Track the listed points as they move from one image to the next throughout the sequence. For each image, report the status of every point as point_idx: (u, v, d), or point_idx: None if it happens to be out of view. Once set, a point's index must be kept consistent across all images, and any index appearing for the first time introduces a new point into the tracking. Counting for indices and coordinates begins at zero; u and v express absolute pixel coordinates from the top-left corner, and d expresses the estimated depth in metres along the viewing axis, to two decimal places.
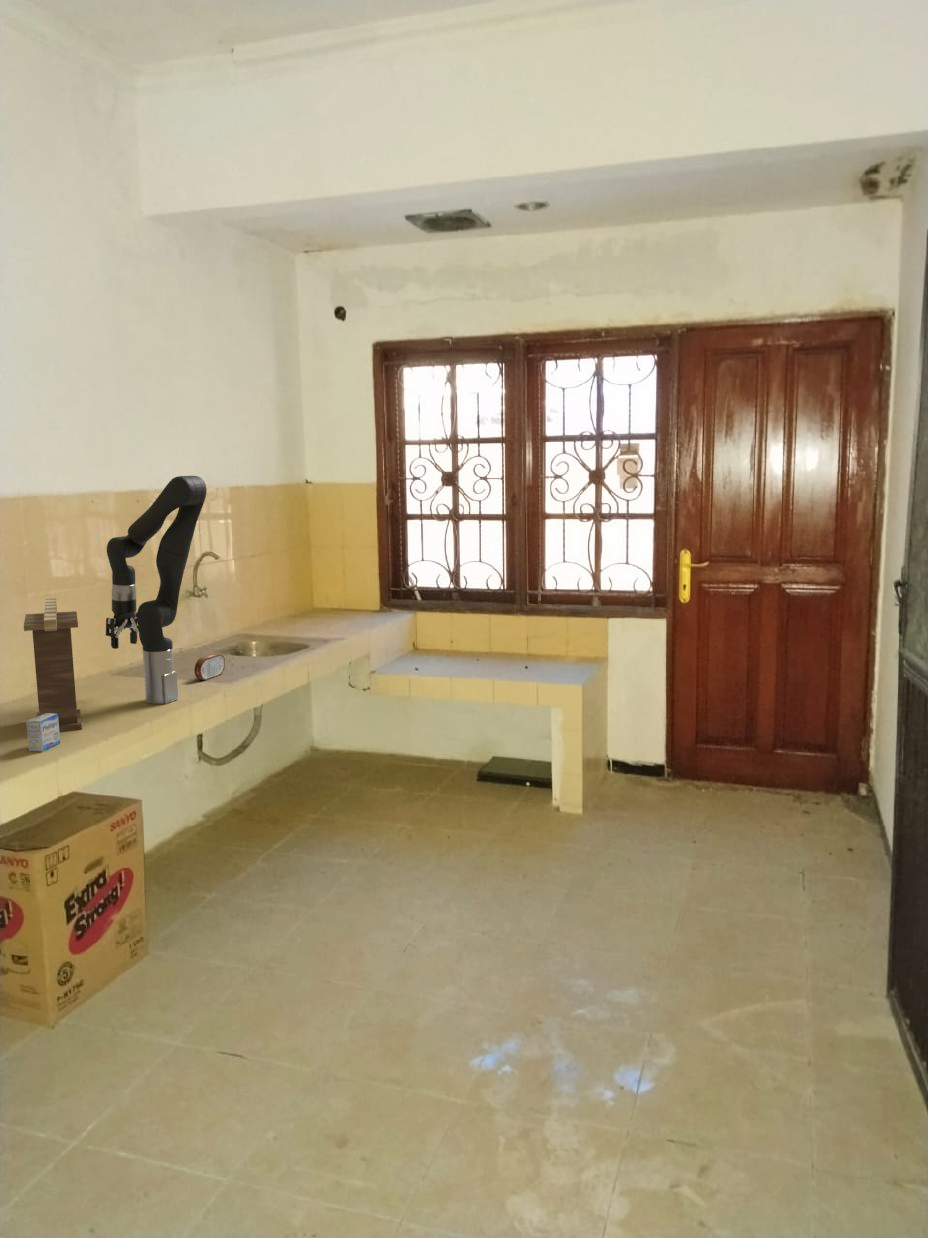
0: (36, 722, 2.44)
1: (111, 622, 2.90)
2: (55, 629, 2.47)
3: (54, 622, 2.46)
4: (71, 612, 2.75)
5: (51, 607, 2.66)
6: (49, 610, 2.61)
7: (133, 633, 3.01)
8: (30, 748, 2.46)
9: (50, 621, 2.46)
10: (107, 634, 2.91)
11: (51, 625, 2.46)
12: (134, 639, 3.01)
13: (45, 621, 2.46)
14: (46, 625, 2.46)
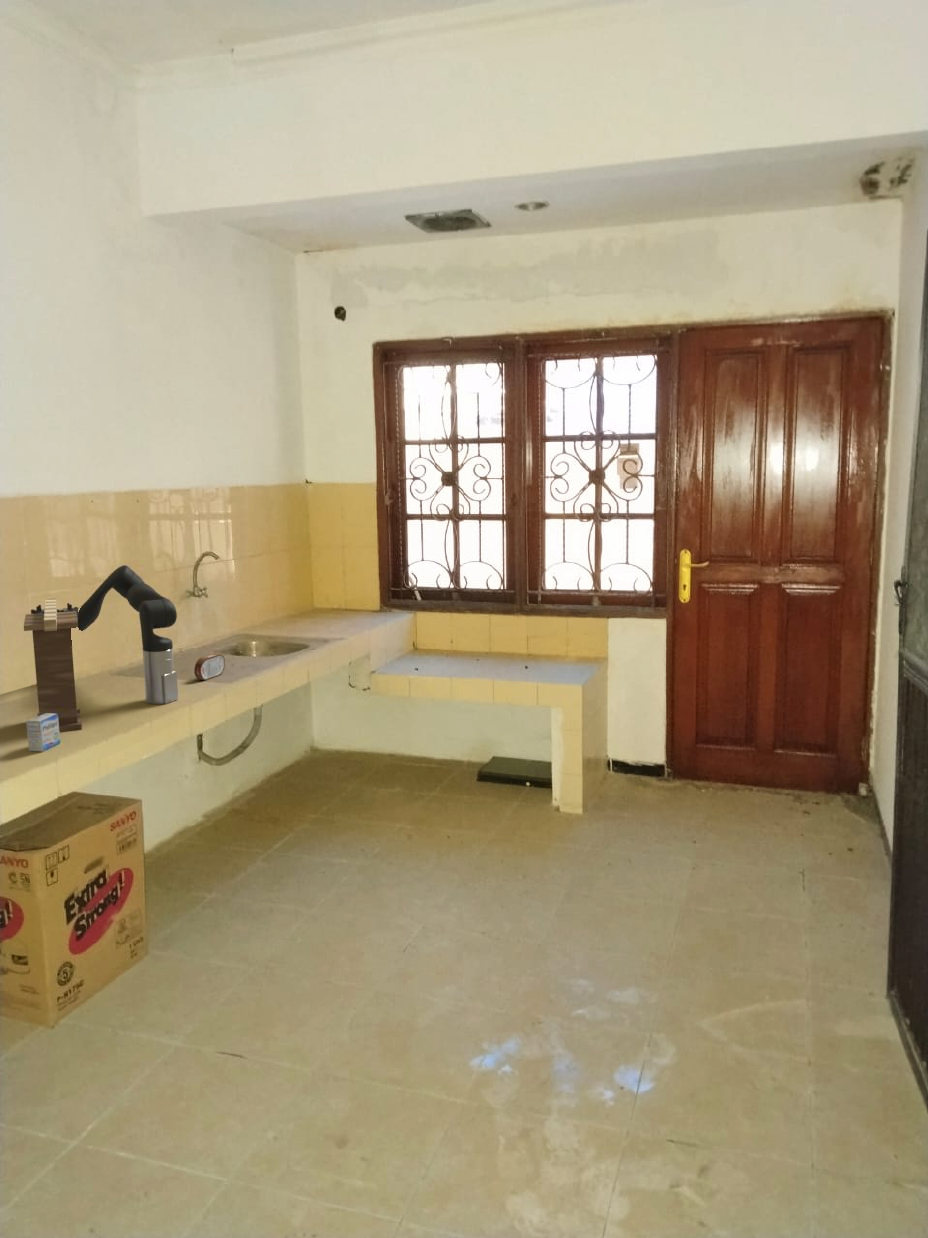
0: (36, 722, 2.44)
1: None
2: (55, 629, 2.47)
3: (54, 622, 2.46)
4: (71, 612, 2.75)
5: (51, 607, 2.66)
6: (49, 610, 2.61)
7: None
8: (30, 748, 2.46)
9: (50, 621, 2.46)
10: None
11: (51, 625, 2.46)
12: None
13: (45, 621, 2.46)
14: (46, 625, 2.46)
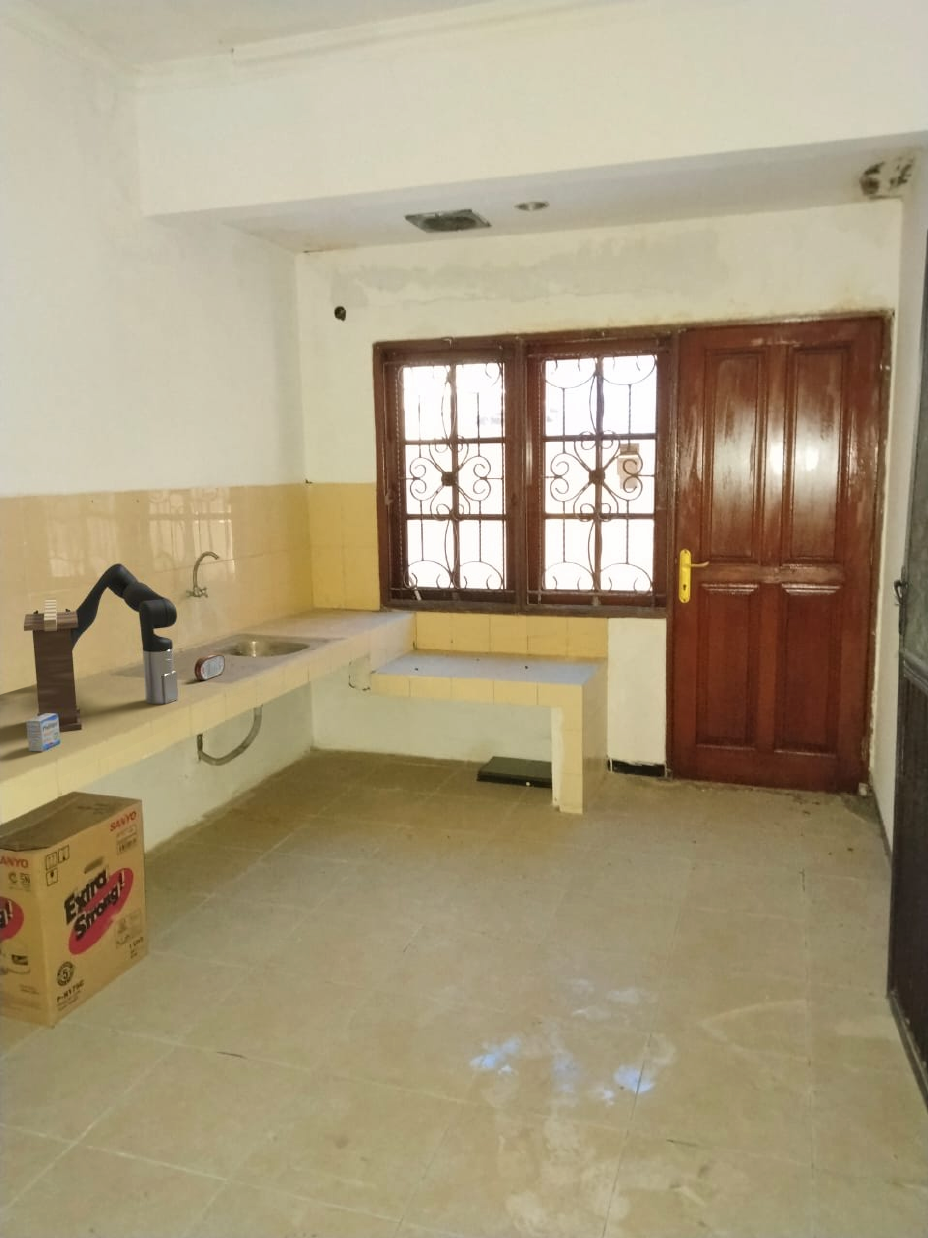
0: (36, 722, 2.44)
1: None
2: (55, 629, 2.47)
3: (54, 622, 2.46)
4: (71, 612, 2.75)
5: (51, 607, 2.66)
6: (49, 610, 2.61)
7: None
8: (30, 748, 2.46)
9: (50, 621, 2.46)
10: None
11: (51, 625, 2.46)
12: None
13: (45, 621, 2.46)
14: (46, 625, 2.46)
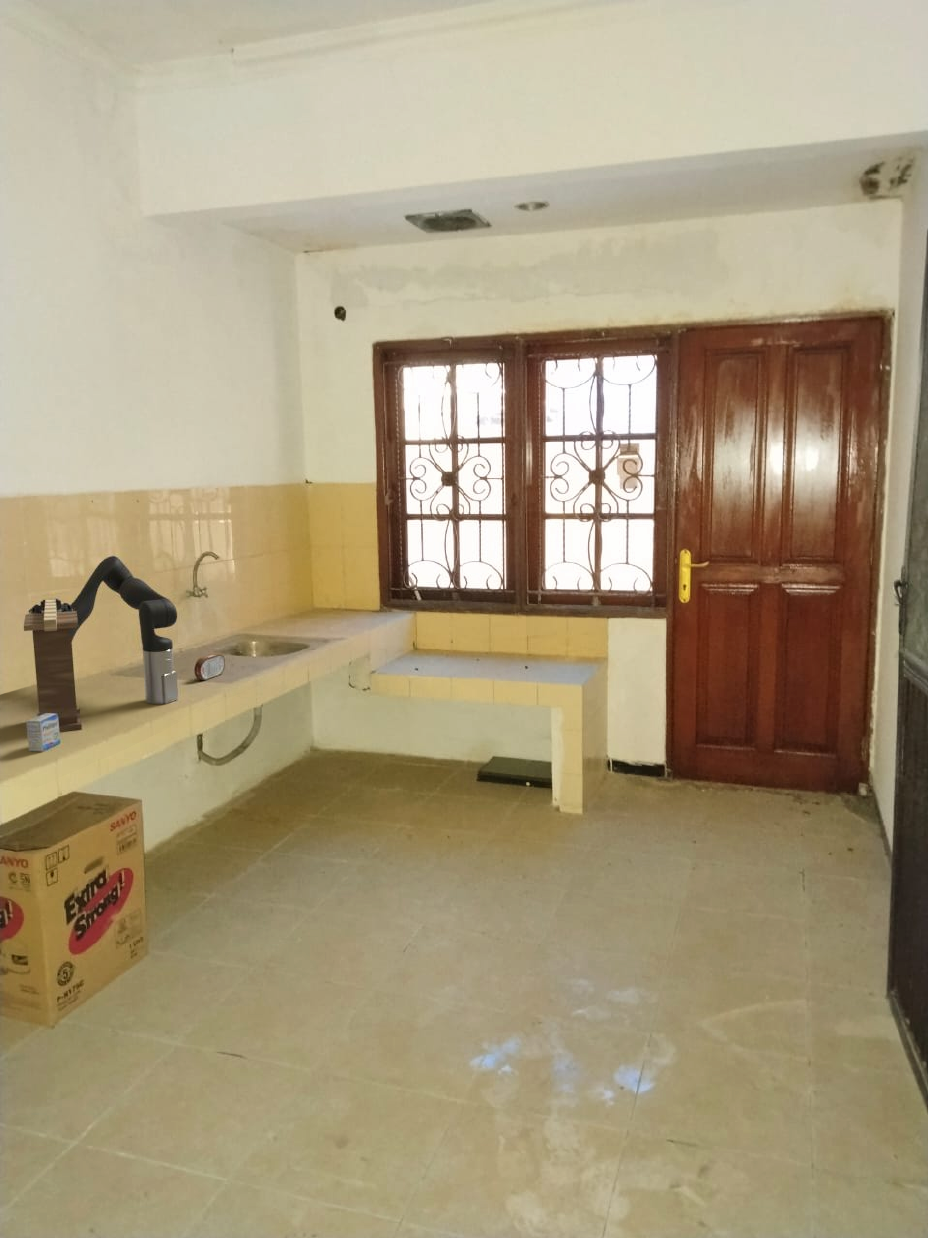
0: (36, 722, 2.44)
1: (29, 610, 2.81)
2: (55, 629, 2.47)
3: (54, 622, 2.46)
4: (71, 612, 2.75)
5: (51, 607, 2.66)
6: (49, 610, 2.61)
7: None
8: (30, 748, 2.46)
9: (50, 621, 2.46)
10: (35, 610, 2.78)
11: (51, 625, 2.46)
12: None
13: (45, 621, 2.46)
14: (46, 625, 2.46)
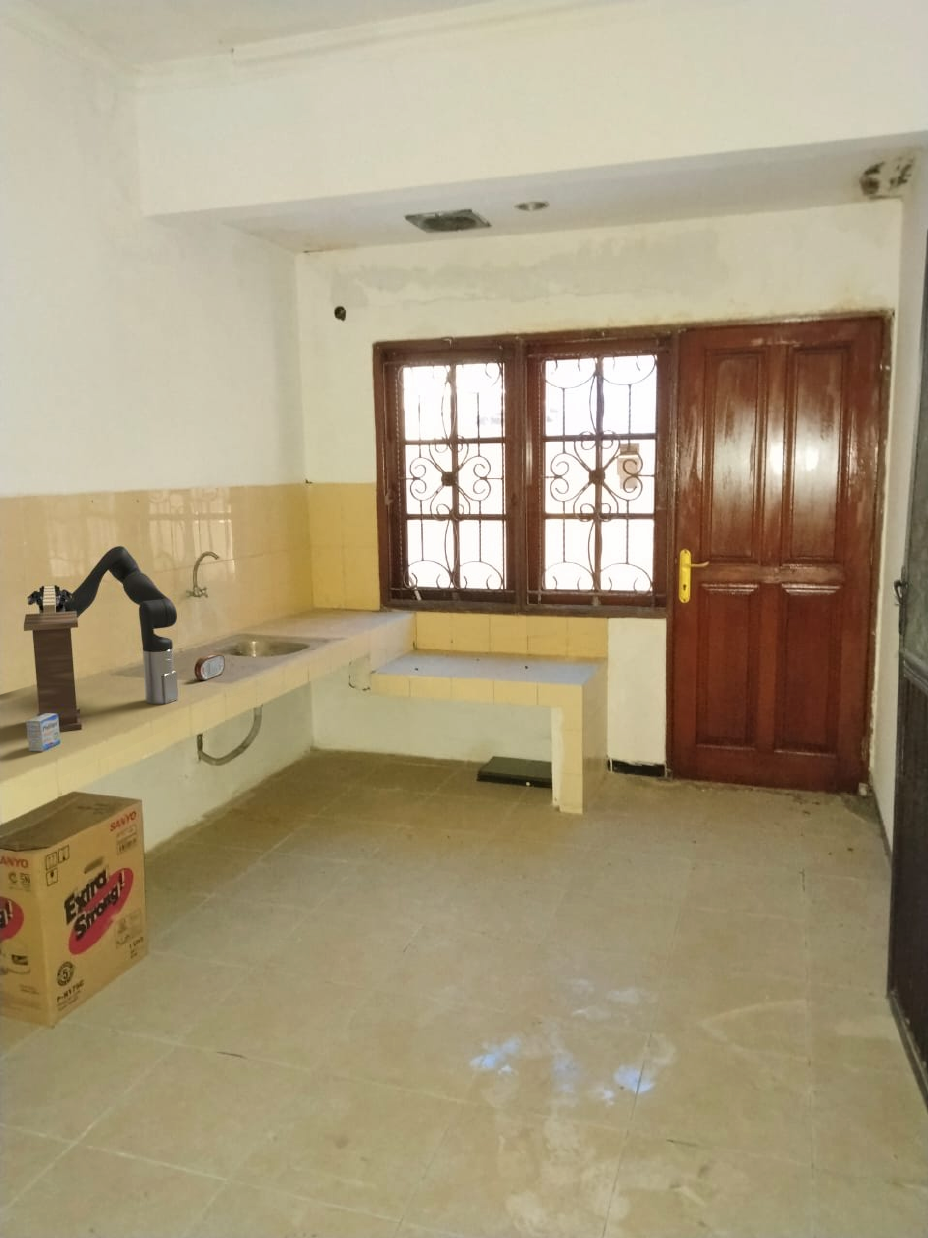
0: (36, 722, 2.44)
1: (28, 597, 2.83)
2: (54, 614, 2.49)
3: (53, 607, 2.48)
4: (71, 612, 2.75)
5: (50, 593, 2.68)
6: (48, 596, 2.63)
7: None
8: (30, 748, 2.46)
9: (49, 606, 2.48)
10: (34, 596, 2.80)
11: (50, 610, 2.48)
12: None
13: (44, 606, 2.48)
14: (45, 610, 2.48)
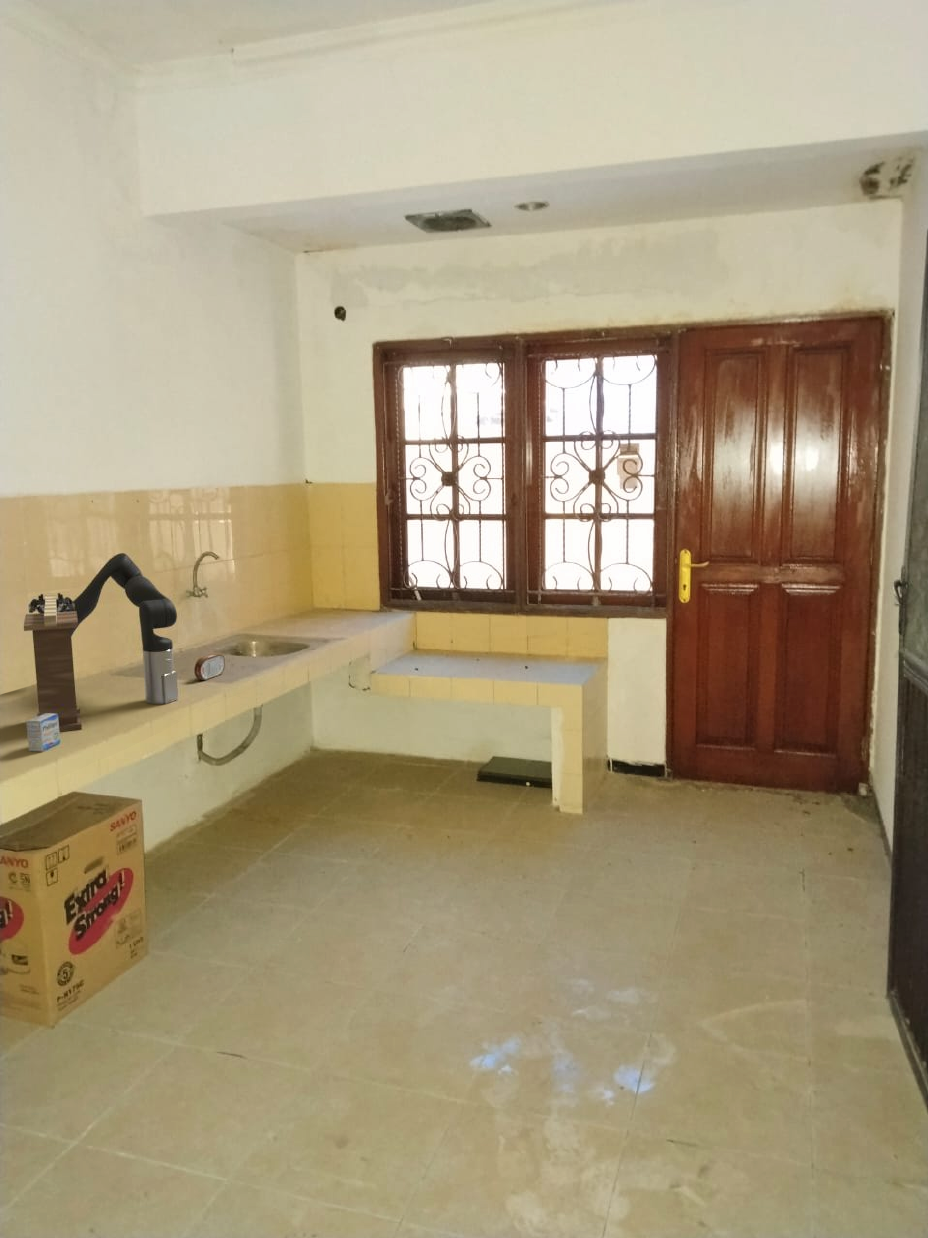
0: (36, 722, 2.44)
1: (29, 605, 2.87)
2: (55, 625, 2.53)
3: (54, 618, 2.53)
4: (71, 612, 2.75)
5: (51, 603, 2.72)
6: (49, 606, 2.67)
7: None
8: (30, 748, 2.46)
9: (50, 617, 2.52)
10: (33, 604, 2.84)
11: (51, 621, 2.53)
12: None
13: (45, 617, 2.52)
14: (46, 621, 2.52)
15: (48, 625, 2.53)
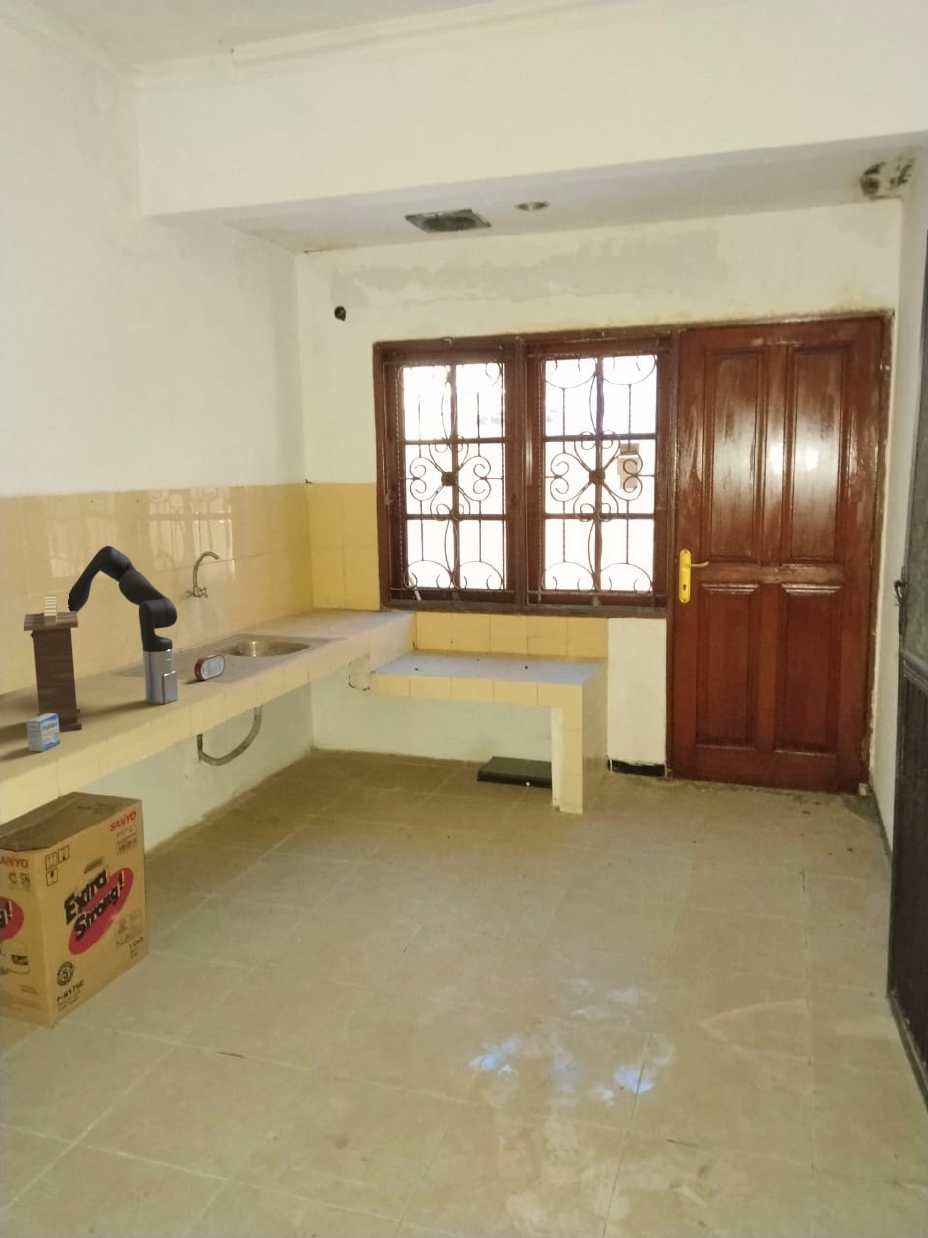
0: (36, 722, 2.44)
1: None
2: (55, 625, 2.53)
3: (54, 618, 2.53)
4: (71, 612, 2.75)
5: (51, 603, 2.72)
6: (49, 606, 2.67)
7: None
8: (30, 748, 2.46)
9: (50, 617, 2.52)
10: None
11: (51, 621, 2.53)
12: None
13: (45, 617, 2.52)
14: (46, 621, 2.52)
15: (48, 625, 2.53)
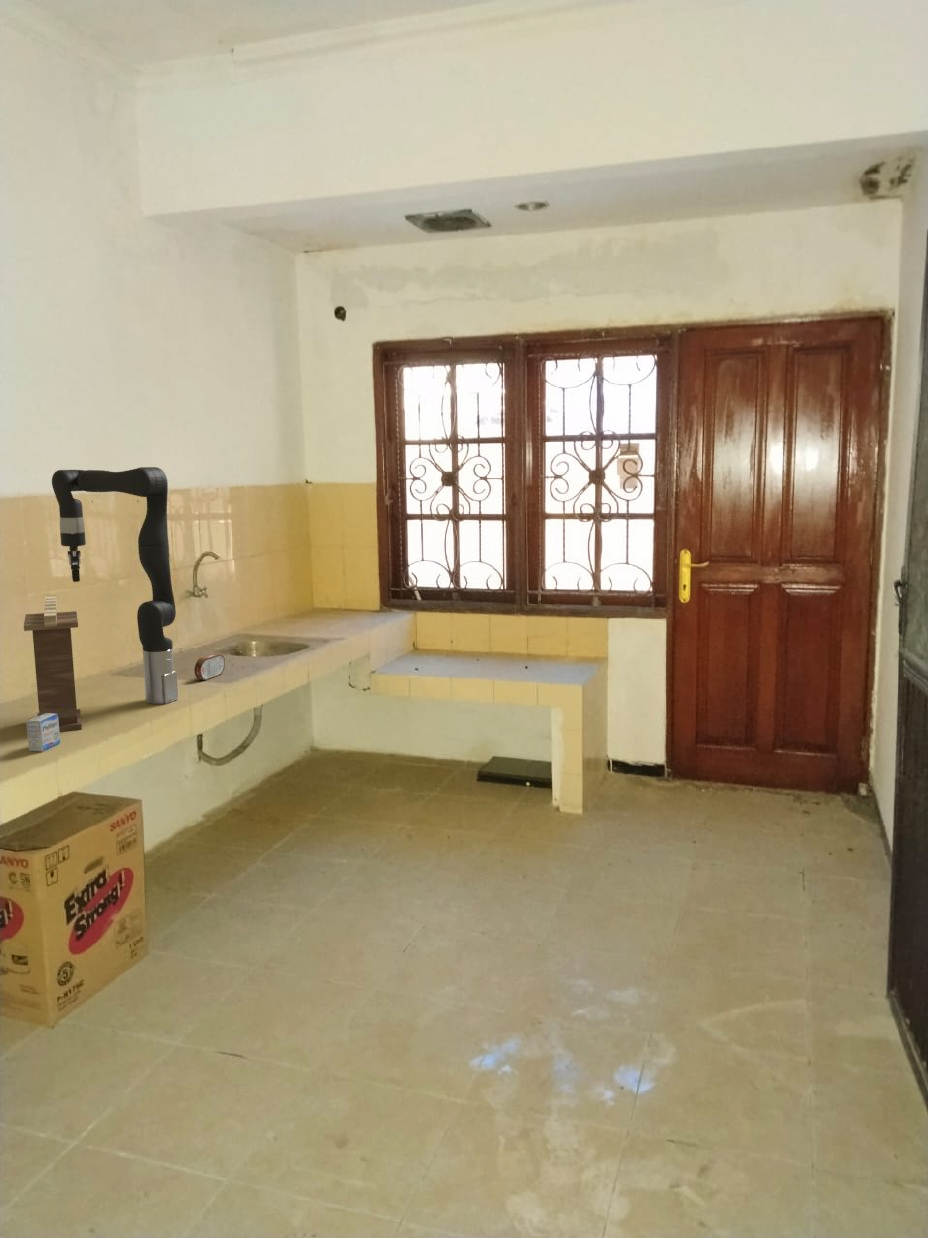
0: (36, 722, 2.44)
1: None
2: (55, 625, 2.53)
3: (54, 618, 2.53)
4: (71, 612, 2.75)
5: (51, 603, 2.72)
6: (49, 606, 2.67)
7: None
8: (30, 748, 2.46)
9: (50, 617, 2.52)
10: None
11: (51, 621, 2.53)
12: None
13: (45, 617, 2.52)
14: (46, 621, 2.52)
15: (48, 625, 2.53)
